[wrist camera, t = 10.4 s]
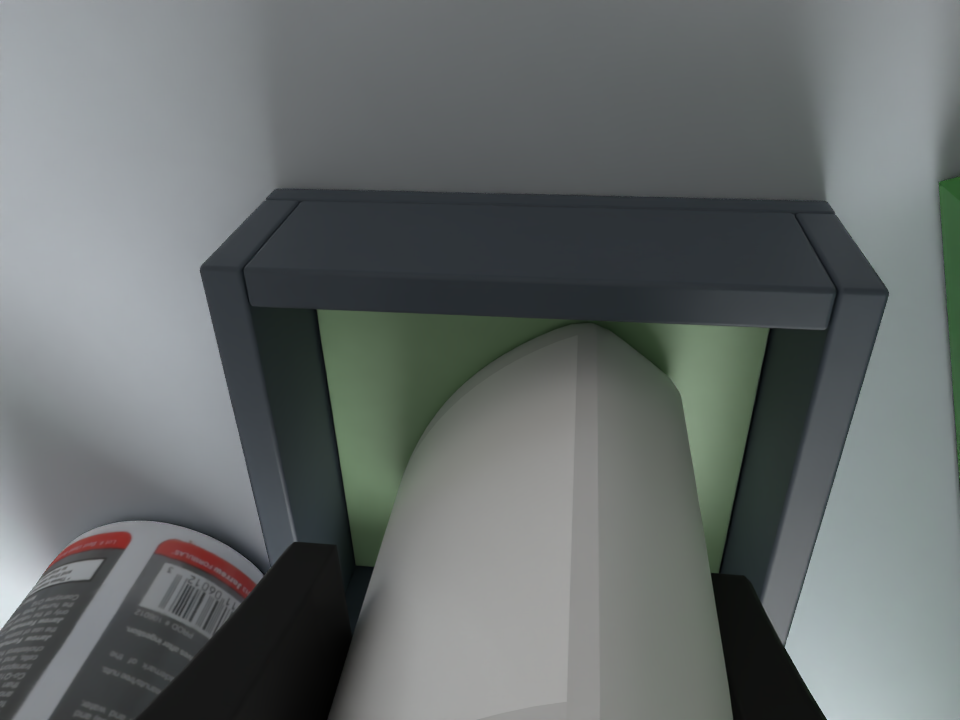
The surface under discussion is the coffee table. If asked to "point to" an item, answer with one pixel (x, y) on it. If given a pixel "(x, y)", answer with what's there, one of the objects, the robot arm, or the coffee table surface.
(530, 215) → the dark grey shallow tray
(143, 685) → the pill bottle
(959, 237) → the hardback book
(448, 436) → the eye dropper bottle
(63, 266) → the coffee table surface
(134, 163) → the coffee table surface
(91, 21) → the coffee table surface
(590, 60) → the coffee table surface
